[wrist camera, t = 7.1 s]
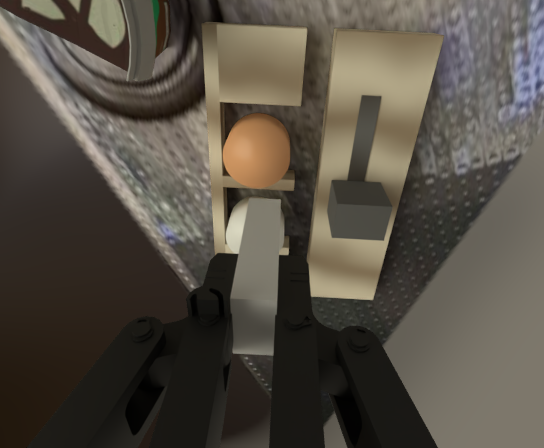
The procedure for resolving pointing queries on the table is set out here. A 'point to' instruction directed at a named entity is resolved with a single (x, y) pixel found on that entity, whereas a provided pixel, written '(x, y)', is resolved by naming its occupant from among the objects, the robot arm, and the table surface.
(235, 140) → the brown egg
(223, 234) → the beige flat pieces
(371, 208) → the slider knob
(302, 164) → the table surface
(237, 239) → the white egg
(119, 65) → the food container
